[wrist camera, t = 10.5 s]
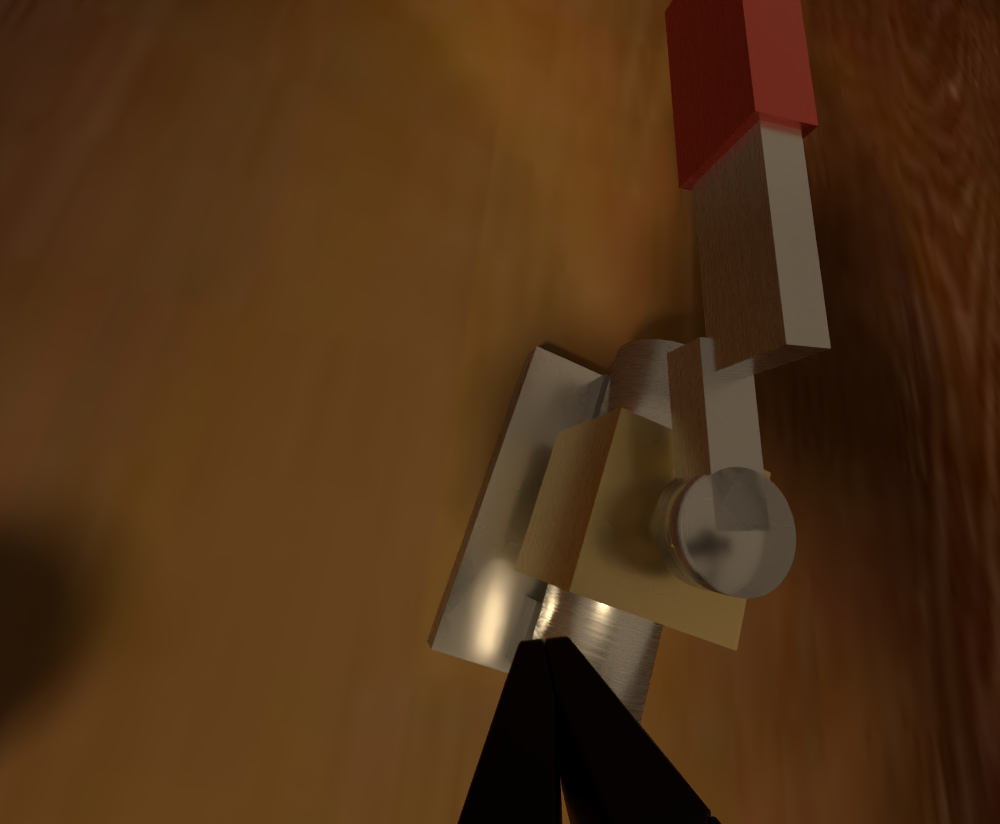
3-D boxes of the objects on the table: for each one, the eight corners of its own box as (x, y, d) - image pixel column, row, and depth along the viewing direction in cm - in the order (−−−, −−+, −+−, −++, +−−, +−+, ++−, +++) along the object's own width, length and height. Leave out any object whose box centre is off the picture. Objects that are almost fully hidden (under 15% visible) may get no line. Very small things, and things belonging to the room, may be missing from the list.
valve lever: (657, 592, 13) (785, 628, 9) (623, 44, 16) (707, -106, 12) (758, 586, 14) (915, 617, 10) (706, 66, 17) (810, -67, 13)
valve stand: (623, 702, 21) (785, 823, 13) (427, 641, 20) (474, 734, 12) (690, 425, 25) (852, 384, 17) (528, 354, 23) (619, 269, 15)
